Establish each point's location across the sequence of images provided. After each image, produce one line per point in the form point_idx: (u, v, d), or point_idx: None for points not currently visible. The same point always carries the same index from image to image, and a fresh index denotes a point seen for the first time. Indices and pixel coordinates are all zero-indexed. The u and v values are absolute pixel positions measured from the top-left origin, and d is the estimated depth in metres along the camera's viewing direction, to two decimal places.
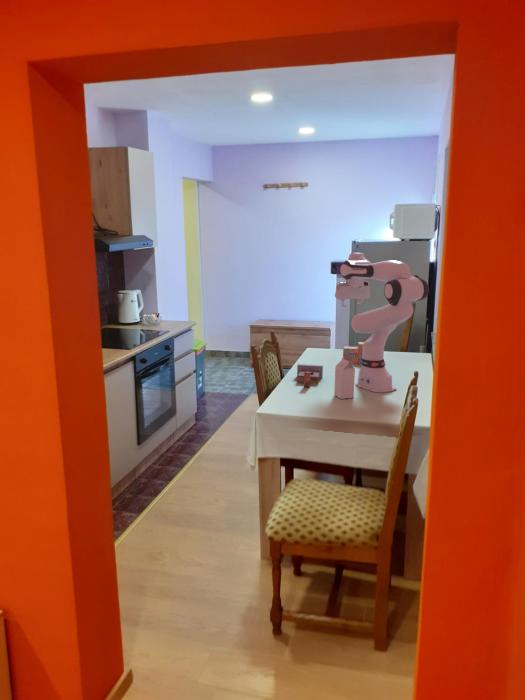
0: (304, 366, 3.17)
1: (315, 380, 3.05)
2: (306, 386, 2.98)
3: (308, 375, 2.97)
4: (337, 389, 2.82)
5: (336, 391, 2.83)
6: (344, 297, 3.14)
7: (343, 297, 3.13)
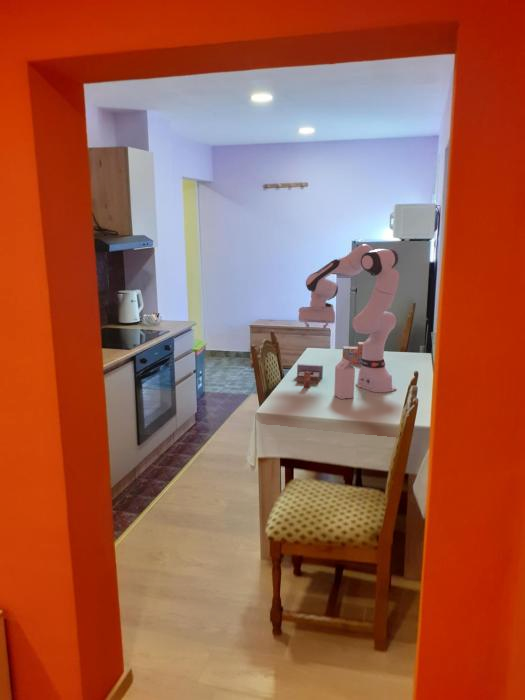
0: (304, 366, 3.17)
1: (315, 380, 3.05)
2: (306, 386, 2.98)
3: (308, 375, 2.97)
4: (337, 389, 2.82)
5: (336, 391, 2.83)
6: (306, 317, 3.16)
7: (305, 317, 3.16)
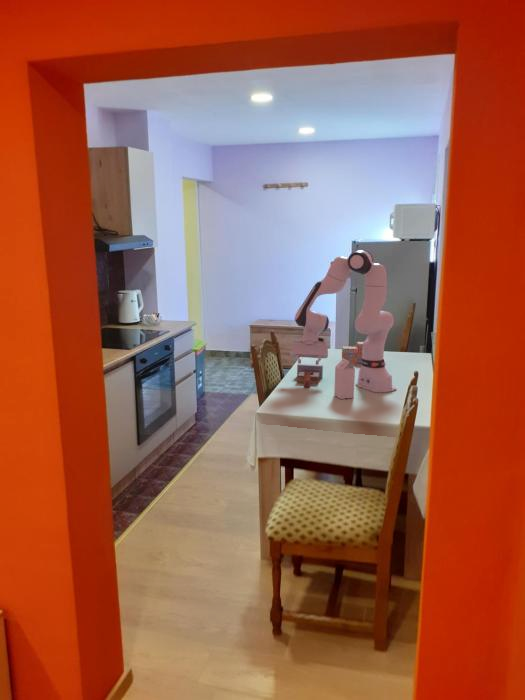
0: (304, 366, 3.17)
1: (315, 380, 3.05)
2: (306, 386, 2.98)
3: (308, 375, 2.97)
4: (337, 389, 2.82)
5: (336, 391, 2.83)
6: (298, 352, 3.08)
7: (297, 352, 3.08)
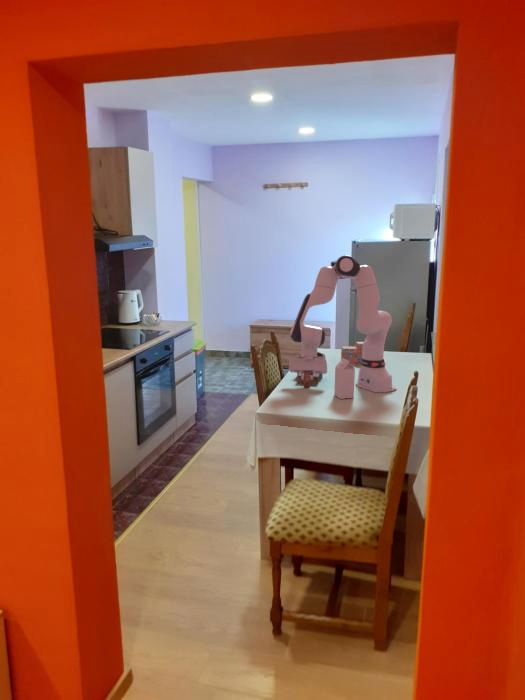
0: None
1: (315, 380, 3.05)
2: (306, 386, 2.98)
3: (308, 375, 2.97)
4: (337, 389, 2.82)
5: (336, 391, 2.83)
6: (296, 367, 3.01)
7: (295, 367, 3.01)
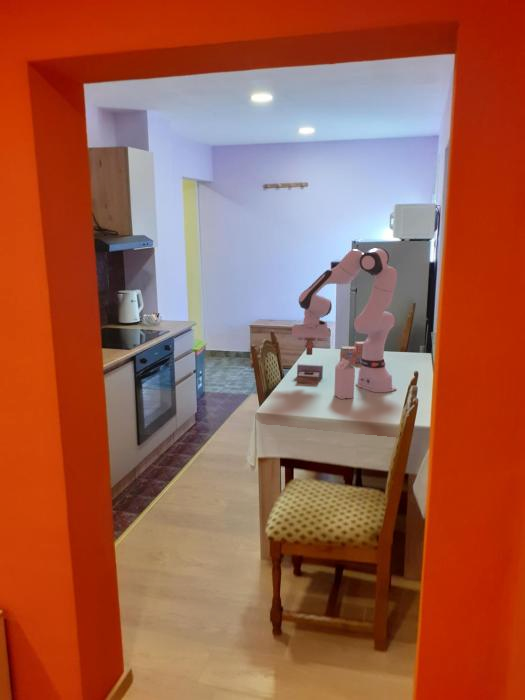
0: (304, 366, 3.17)
1: (315, 380, 3.05)
2: (308, 353, 3.07)
3: (310, 342, 3.05)
4: (337, 389, 2.82)
5: (336, 391, 2.83)
6: (299, 335, 3.09)
7: (298, 335, 3.09)
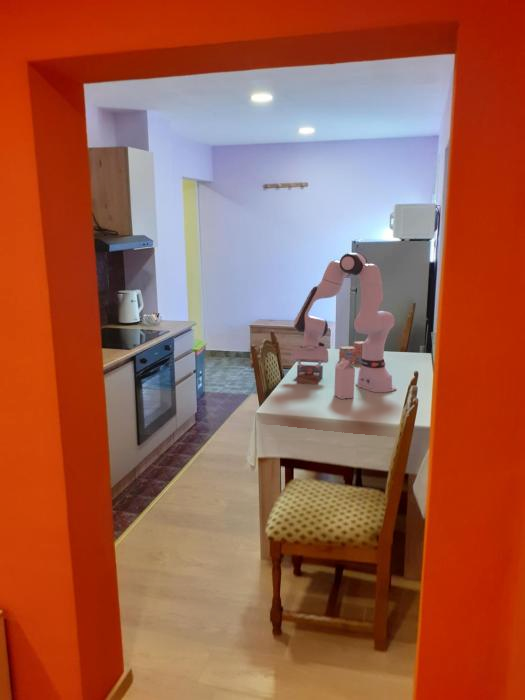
0: (304, 366, 3.17)
1: (315, 380, 3.05)
2: None
3: (310, 369, 3.09)
4: (337, 389, 2.82)
5: (336, 391, 2.83)
6: (299, 357, 3.12)
7: (297, 357, 3.12)
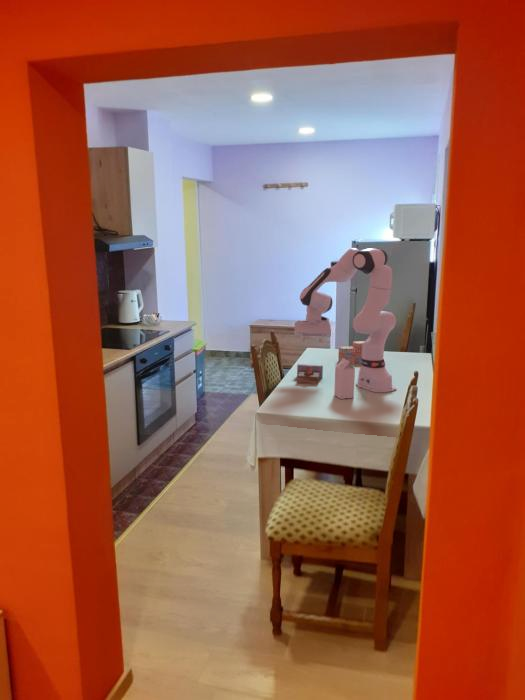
0: (304, 366, 3.17)
1: (315, 380, 3.05)
2: None
3: (310, 369, 3.09)
4: (337, 389, 2.82)
5: (336, 391, 2.83)
6: (302, 331, 3.17)
7: (300, 331, 3.17)
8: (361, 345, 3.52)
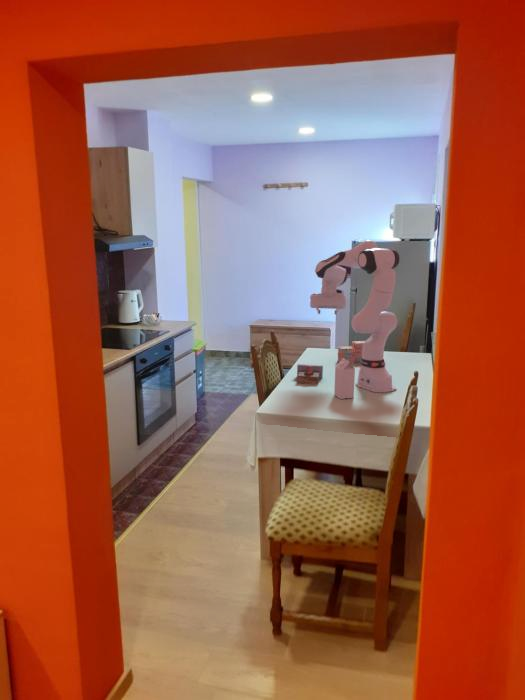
0: (304, 366, 3.17)
1: (315, 380, 3.05)
2: None
3: (310, 369, 3.09)
4: (337, 389, 2.82)
5: (336, 391, 2.83)
6: (317, 303, 3.24)
7: (316, 303, 3.24)
8: (360, 345, 3.52)
